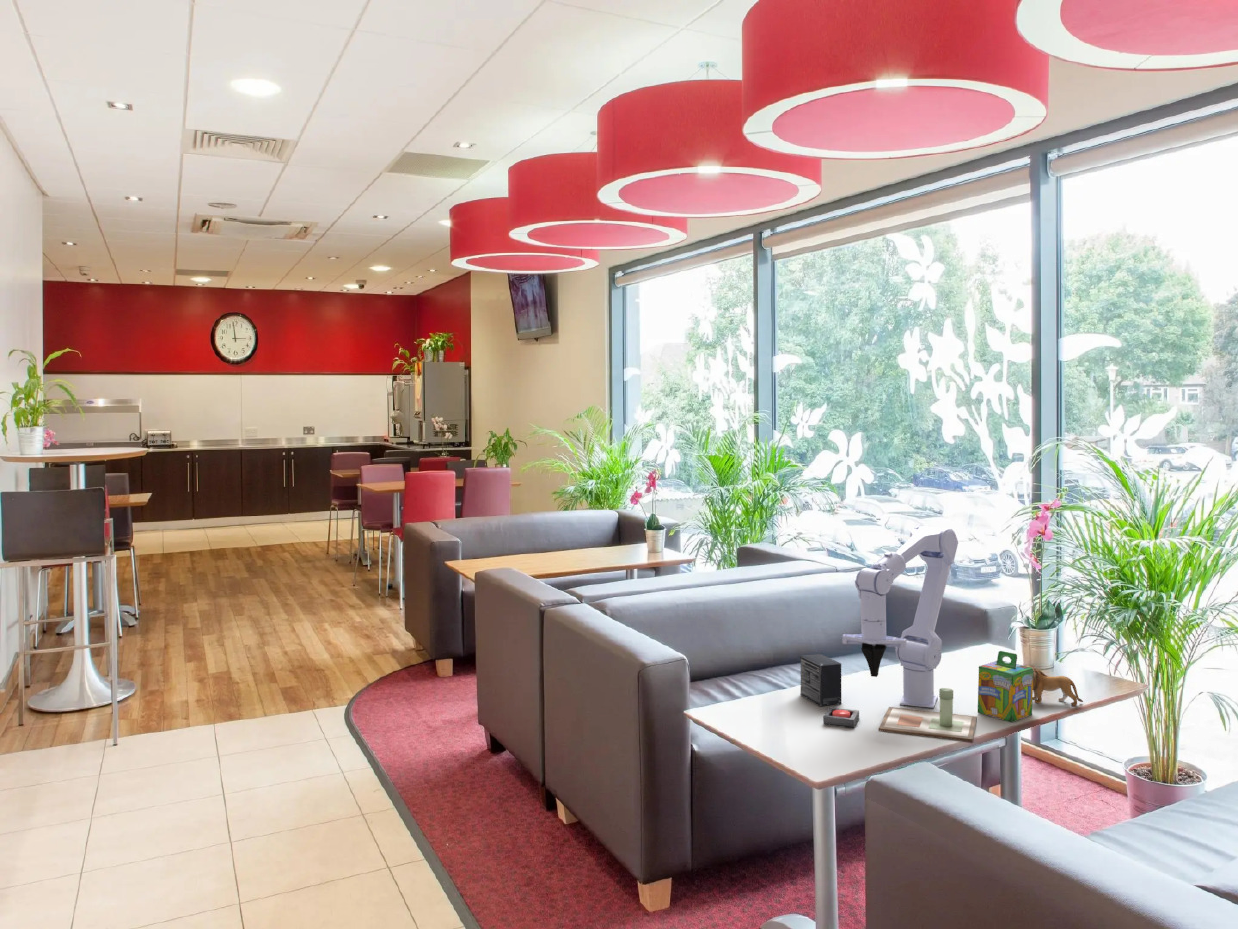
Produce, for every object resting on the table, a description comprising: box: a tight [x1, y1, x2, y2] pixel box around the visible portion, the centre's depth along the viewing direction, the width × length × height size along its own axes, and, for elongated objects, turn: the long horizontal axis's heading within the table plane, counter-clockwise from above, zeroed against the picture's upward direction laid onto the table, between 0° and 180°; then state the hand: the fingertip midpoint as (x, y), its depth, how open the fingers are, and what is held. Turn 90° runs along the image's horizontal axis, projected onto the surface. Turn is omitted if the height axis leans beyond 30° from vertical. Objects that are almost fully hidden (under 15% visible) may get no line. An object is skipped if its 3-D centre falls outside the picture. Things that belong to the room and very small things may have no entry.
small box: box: [799, 653, 842, 707], centre depth 231 cm, size 11×6×10 cm, turn 18°
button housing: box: [822, 707, 860, 729], centre depth 214 cm, size 7×7×2 cm
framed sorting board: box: [878, 706, 977, 743], centre depth 211 cm, size 16×20×1 cm
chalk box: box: [977, 650, 1034, 723], centre depth 216 cm, size 9×9×15 cm
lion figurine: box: [1025, 665, 1084, 707], centre depth 224 cm, size 15×5×9 cm, turn 77°
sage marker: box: [938, 687, 954, 727], centre depth 208 cm, size 3×3×8 cm
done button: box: [833, 710, 850, 718], centre depth 214 cm, size 4×4×2 cm
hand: (874, 675), depth 216 cm, fingers closed
